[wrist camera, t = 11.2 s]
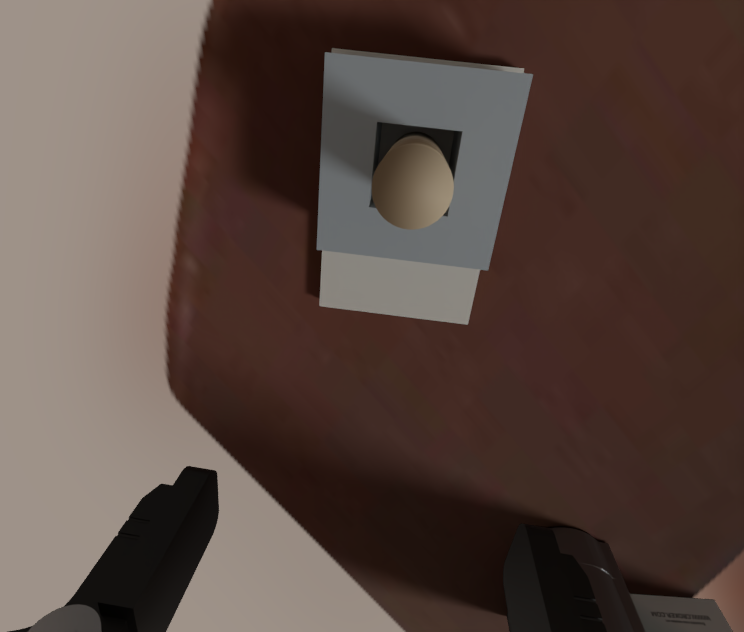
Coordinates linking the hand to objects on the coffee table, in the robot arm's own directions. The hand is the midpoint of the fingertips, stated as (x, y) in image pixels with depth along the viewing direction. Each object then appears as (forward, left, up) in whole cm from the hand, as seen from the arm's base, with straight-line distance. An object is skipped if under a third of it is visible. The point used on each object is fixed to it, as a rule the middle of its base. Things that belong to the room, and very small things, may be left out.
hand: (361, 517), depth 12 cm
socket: (0, -3, -25) cm, 25 cm away
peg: (-1, -6, -24) cm, 25 cm away
